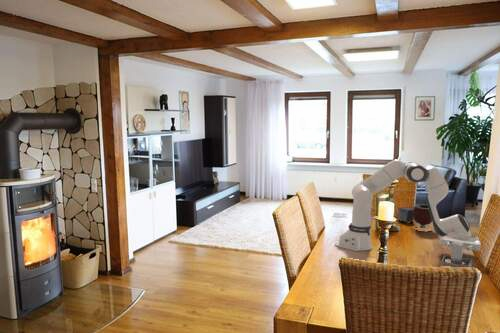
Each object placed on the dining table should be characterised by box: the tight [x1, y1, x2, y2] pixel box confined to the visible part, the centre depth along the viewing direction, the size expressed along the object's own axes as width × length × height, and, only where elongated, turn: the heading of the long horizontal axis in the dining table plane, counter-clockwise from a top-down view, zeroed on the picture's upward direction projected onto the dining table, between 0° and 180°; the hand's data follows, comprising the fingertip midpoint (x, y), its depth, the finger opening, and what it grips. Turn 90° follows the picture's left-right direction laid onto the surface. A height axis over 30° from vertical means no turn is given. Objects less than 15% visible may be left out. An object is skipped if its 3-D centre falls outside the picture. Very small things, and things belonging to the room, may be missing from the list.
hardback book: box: [374, 192, 394, 230], centre depth 290 cm, size 18×7×24 cm, turn 146°
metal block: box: [450, 241, 464, 265], centre depth 211 cm, size 5×5×12 cm
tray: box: [440, 254, 474, 268], centre depth 212 cm, size 14×14×4 cm
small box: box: [397, 206, 414, 223], centre depth 306 cm, size 11×6×10 cm, turn 22°
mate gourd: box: [412, 203, 433, 228], centre depth 282 cm, size 16×14×20 cm
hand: (458, 247), depth 214 cm, fingers open, 8 cm apart
